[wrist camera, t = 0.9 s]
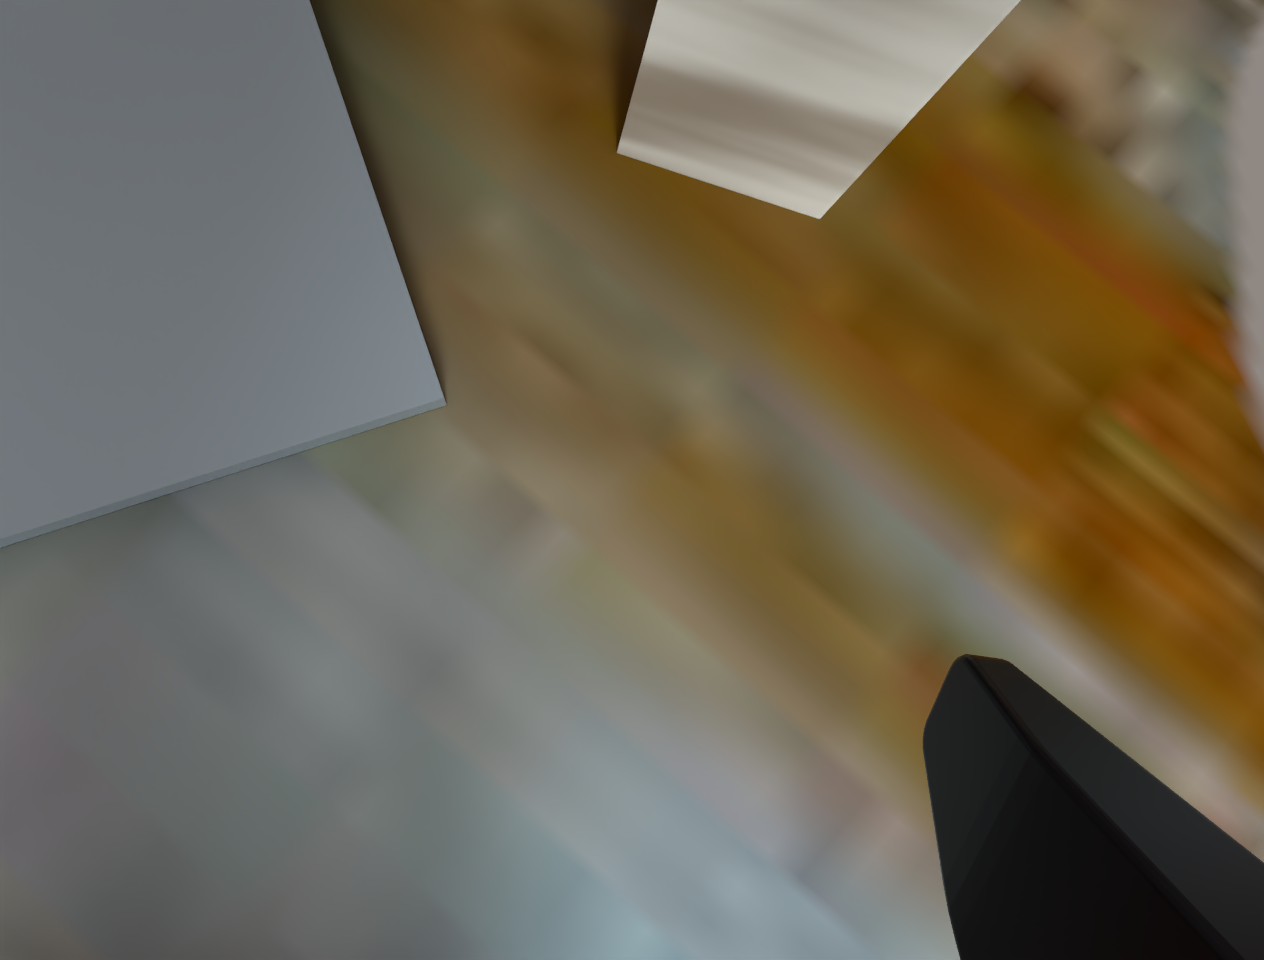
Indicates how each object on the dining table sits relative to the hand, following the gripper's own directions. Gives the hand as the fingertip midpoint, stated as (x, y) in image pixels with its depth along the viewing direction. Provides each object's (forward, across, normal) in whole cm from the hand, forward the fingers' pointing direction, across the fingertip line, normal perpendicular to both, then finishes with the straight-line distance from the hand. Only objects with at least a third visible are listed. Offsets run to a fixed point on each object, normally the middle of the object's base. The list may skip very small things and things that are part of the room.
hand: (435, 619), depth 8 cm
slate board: (+16, +10, +2) cm, 18 cm away
